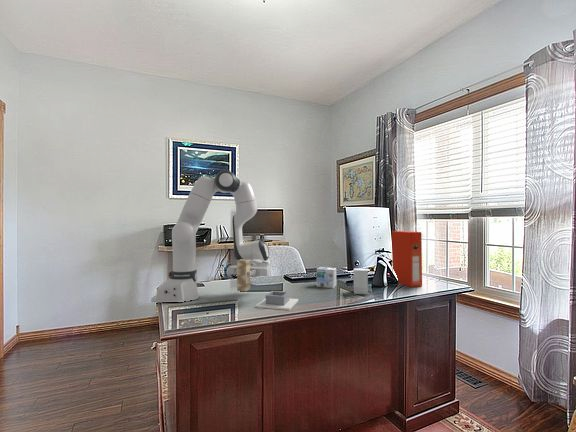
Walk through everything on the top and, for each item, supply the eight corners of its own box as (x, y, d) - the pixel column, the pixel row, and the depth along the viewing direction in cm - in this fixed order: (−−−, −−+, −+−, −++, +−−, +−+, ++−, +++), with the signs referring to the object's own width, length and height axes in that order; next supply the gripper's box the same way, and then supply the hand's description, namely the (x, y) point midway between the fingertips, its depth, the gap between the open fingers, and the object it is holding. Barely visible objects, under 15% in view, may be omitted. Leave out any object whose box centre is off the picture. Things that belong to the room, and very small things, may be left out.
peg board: (255, 307, 138) (255, 296, 138) (267, 298, 154) (267, 288, 154) (289, 310, 134) (289, 299, 134) (298, 300, 149) (298, 290, 150)
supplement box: (368, 294, 161) (367, 270, 161) (353, 293, 163) (353, 270, 163) (367, 291, 169) (367, 268, 169) (353, 290, 170) (353, 267, 170)
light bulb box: (316, 286, 180) (316, 268, 180) (319, 284, 186) (319, 266, 186) (334, 288, 176) (333, 269, 176) (336, 285, 182) (336, 267, 182)
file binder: (410, 287, 178) (410, 232, 178) (392, 281, 194) (392, 231, 194) (422, 286, 180) (421, 232, 180) (402, 280, 196) (402, 231, 197)
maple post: (237, 290, 141) (237, 260, 141) (241, 288, 145) (241, 259, 145) (246, 291, 140) (246, 260, 140) (250, 289, 144) (249, 259, 144)
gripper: (235, 261, 158) (222, 265, 145) (273, 262, 152) (263, 267, 139) (235, 273, 158) (222, 278, 144) (273, 275, 152) (263, 281, 139)
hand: (242, 273), depth 142 cm, fingers closed on maple post, 4 cm apart
